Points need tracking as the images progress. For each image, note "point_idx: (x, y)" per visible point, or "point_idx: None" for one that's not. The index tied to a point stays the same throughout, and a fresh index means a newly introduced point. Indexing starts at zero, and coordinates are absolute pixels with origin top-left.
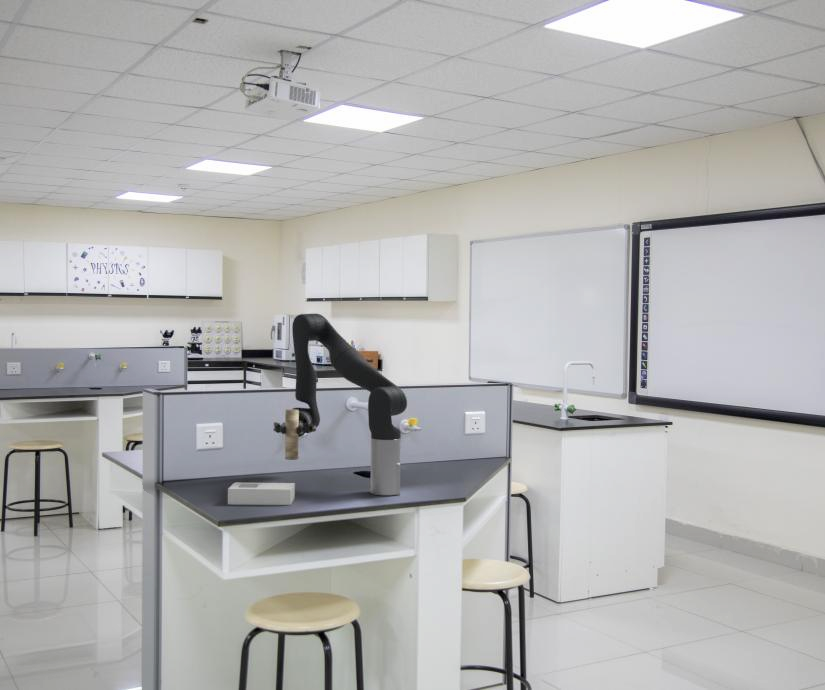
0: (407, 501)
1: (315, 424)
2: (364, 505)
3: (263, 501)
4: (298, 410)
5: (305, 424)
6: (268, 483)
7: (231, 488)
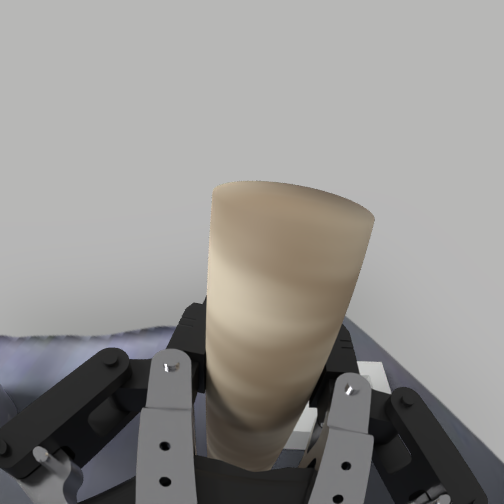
0: (7, 345)
1: (5, 433)
2: (83, 346)
3: None
4: (217, 188)
5: (93, 496)
6: (306, 422)
7: (376, 365)
